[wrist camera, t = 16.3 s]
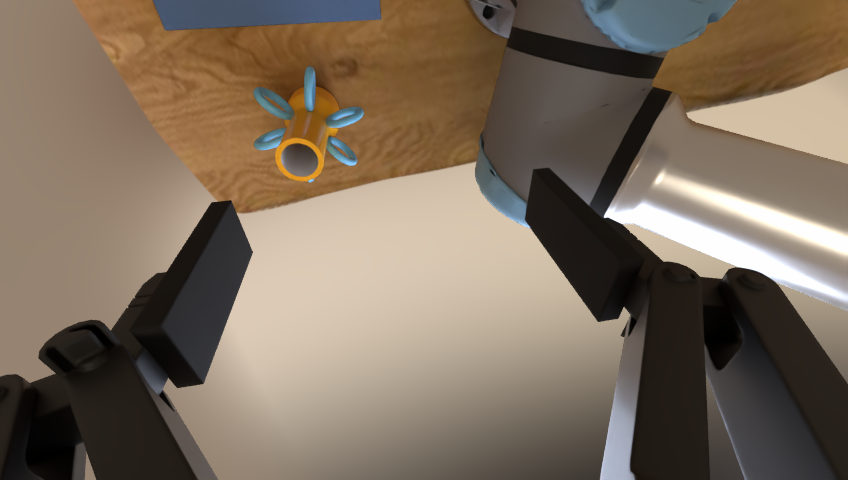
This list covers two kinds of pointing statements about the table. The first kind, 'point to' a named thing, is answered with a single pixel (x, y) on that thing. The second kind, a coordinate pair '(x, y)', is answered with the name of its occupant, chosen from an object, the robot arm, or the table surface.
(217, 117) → the table surface
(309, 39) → the table surface
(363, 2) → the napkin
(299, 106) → the cylinder
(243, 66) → the table surface
